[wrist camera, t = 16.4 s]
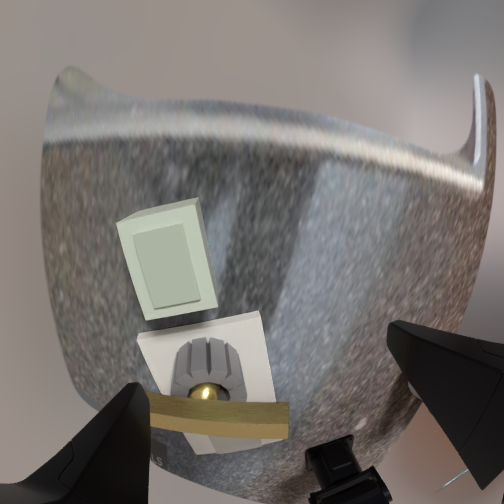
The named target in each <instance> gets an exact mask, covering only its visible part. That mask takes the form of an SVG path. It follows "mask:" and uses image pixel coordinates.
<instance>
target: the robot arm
mask: <svg viewBox="0 0 504 504" xmlns="http://www.w3.org/2000/svg"><path fill="white" fill-rule="evenodd" d="M386 342H387V346H388V348H389V350H390V352H391V353H392V355H393V357H394V359H395V360H396V362H397V364H398V365H399V367H400V369H401V371H402V372H403V374H404V376H405V377H406V379H407V380H408V381H409V383H410V384H411V385H412V387H413V388H414V390H415V391H416V392H417V394H418V395H419V397H420V398H421V399H422V401H423V402H424V404H425V405H426V406H427V408H428V409H429V411H430V412H431V414H432V415H433V416H434V418H435V419H436V421H437V422H438V423H439V425H440V426H441V428H442V429H443V431H444V432H445V434H446V435H447V437H448V438H449V440H450V441H451V443H452V444H453V446H454V447H455V449H456V450H457V452H459V453H458V454H459V455H460V456H461V458H462V460H463V461H464V463H465V465H466V466H467V468H468V469H469V471H470V472H471V474H472V476H473V477H474V479H475V480H476V482H477V484H478V485H479V487H480V489H481V490H483V489H485V488H486V487H487V486H488V485H489V484H490V483H492V482H493V481H494V480H495V479H496V478H497V477H498V476H499V475H500V474H501V473H502V472H503V471H504V344H501V343H494V342H489V341H485V340H480V339H475V338H471V337H467V336H462V335H458V334H454V333H450V332H446V331H442V330H437V329H433V328H429V327H425V326H421V325H417V324H413V323H409V322H405V321H401V320H396V321H393V322H391V323H389V325H388V330H387V340H386ZM353 440H354V436H353V435H349V436H346V437H343V438H340V439H338V440H335V441H332V442H329V443H326V444H323V445H320V446H317V447H314V448H310V449H308V450H307V467H308V471H312V470H314V472H315V474H316V477H317V479H318V482H319V485H320V487H321V490H320V491H317V492H315V493H314V492H313V493H310V496H311V497H310V498H308V500H309V503H310V504H389V502H391V501H392V497H391V494H390V492H389V490H388V488H387V486H386V485H385V483H384V482H383V480H382V479H381V477H380V475H379V474H378V472H377V471H376V469H375V468H374V466H371V467H369V469H367V470H365V471H362V469H361V467H360V465H359V463H358V461H357V460H356V458H355V456H354V454H353V452H352V446H353ZM150 448H151V426H150V402H149V398H148V396H147V395H146V393H145V391H144V389H143V387H142V385H141V384H140V383H139V382H133V383H128V384H127V385H126V386H125V387H124V388H123V389H122V390H121V391H120V392H119V393H118V394H117V395H116V396H115V397H114V398H113V399H112V400H111V401H110V402H109V403H108V404H107V405H106V406H105V407H104V408H103V409H102V410H101V411H100V412H99V413H98V414H97V415H96V416H95V417H94V418H93V419H92V420H91V421H90V422H89V423H88V424H87V425H86V426H85V427H84V428H83V429H82V430H81V431H80V432H79V433H78V434H76V435H75V436H74V438H72V440H71V441H69V442H68V443H67V444H66V445H65V446H64V447H63V448H62V449H61V450H60V451H59V452H58V453H57V454H56V455H55V456H53V457H52V458H51V459H50V460H49V461H48V462H46V463H45V464H44V465H43V466H41V467H40V468H39V469H37V470H36V471H35V472H34V473H33V474H31V475H30V476H29V477H27V478H26V479H24V480H23V481H20V482H17V483H12V484H0V504H148V485H149V484H148V483H149V463H150ZM502 504H504V495H503V500H502Z"/></svg>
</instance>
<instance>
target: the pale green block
mask: <svg viewBox="0 0 504 504" xmlns="http://www.w3.org/2000/svg"><path fill="white" fill-rule="evenodd" d="M116 224H117V228H118V232H119V236H120V240H121V244H122V247H123V251H124V255H125V258H126V262H127V265H128V268H129V272H130V275H131V278H132V281H133V284H134V288H135V291H136V294H137V297H138V300H139V302H140V305H141V308H142V311H143V314H144V317H145V319H146V320H151V319H157V318H163V317H168V316H174V315H179V314H185V313H190V312H195V311H200V310H205V309H210V308H215V307H218V299H217V288H216V277H215V272H214V268H213V264H212V259H211V255H210V250H209V246H208V241H207V236H206V232H205V227H204V222H203V217H202V212H201V207H200V202H199V197H198V198H193V199H188V200H184V201H179V202H175V203H171V204H166V205H162V206H158V207H154V208H149V209H145V210H141V211H137V212H136V213H134V214H132V215H130V216H128V217H126V218H125V219H123V220H121V221H119V222H117V223H116Z"/></svg>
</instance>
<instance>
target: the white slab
mask: <svg viewBox="0 0 504 504" xmlns="http://www.w3.org/2000/svg"><path fill="white" fill-rule="evenodd" d="M137 342H138V344H139V347H140V349H141V351H142V354H143V356H144V358H145V360H146V363H147V365H148V367H149V369H150V371H151V373H152V376H153V378H154V380H155V382H156V384H157V386H158V388H159V390H160V392H161V394H163V395H170V396H178V397H186V398H189V396H190V393H191V390H192V387H194V386H195V385H197V384H200V383H206V382H211V383H216V384H221V387H220V391H219V396H218V400H219V401H237V402H276V398H275V393H274V387H273V382H272V376H271V371H270V365H269V360H268V354H267V349H266V343H265V338H264V332H263V327H262V321H261V316H260V314H259V311H254V312H249V313H245V314H240V315H236V316H231V317H226V318H221V319H216V320H211V321H206V322H201V323H195V324H190V325H185V326H179V327H173V328H168V329H162V330H156V331H149V332H143V333H139V334H138V337H137ZM183 434H184V436H185V437H186V439H187V441H188V442H189V444H190V445H191V447H192V449H193V450H194V452H195V453H196V455H201V454H210V453H217V454H225V453H231V452H237V451H243V450H248V449H254V448H259V447H263V446H262V445H263V444H268V443H272V442H276V441H280V440H283V439H249V438H231V437H219V436H209V435H200V434H192V433H185V432H183Z"/></svg>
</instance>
